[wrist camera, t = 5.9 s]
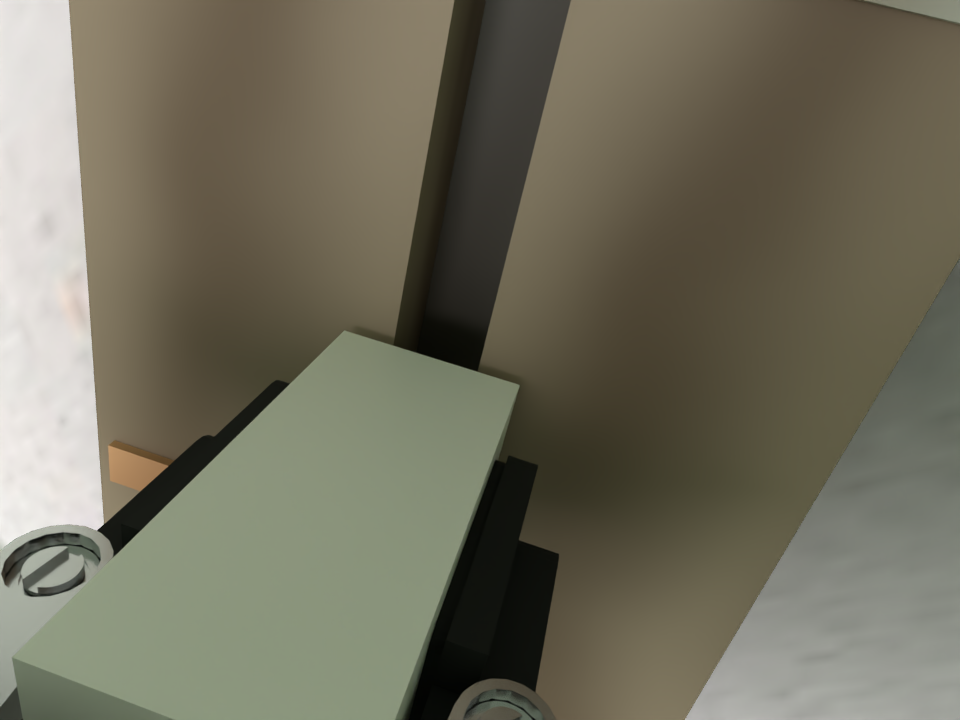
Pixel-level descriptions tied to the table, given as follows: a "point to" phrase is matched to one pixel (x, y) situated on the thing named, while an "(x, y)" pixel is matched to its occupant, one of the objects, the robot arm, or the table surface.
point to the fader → (289, 557)
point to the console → (536, 260)
